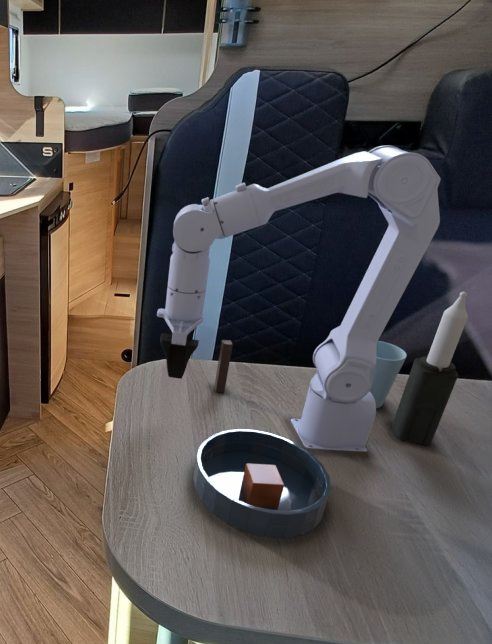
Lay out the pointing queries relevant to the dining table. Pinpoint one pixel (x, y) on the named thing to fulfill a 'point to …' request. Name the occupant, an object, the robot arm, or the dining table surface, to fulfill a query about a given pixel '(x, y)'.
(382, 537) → the dining table surface
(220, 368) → the stick
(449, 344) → the candle
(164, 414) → the dining table surface
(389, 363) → the cup
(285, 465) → the bowl
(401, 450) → the dining table surface
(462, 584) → the dining table surface
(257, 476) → the block
